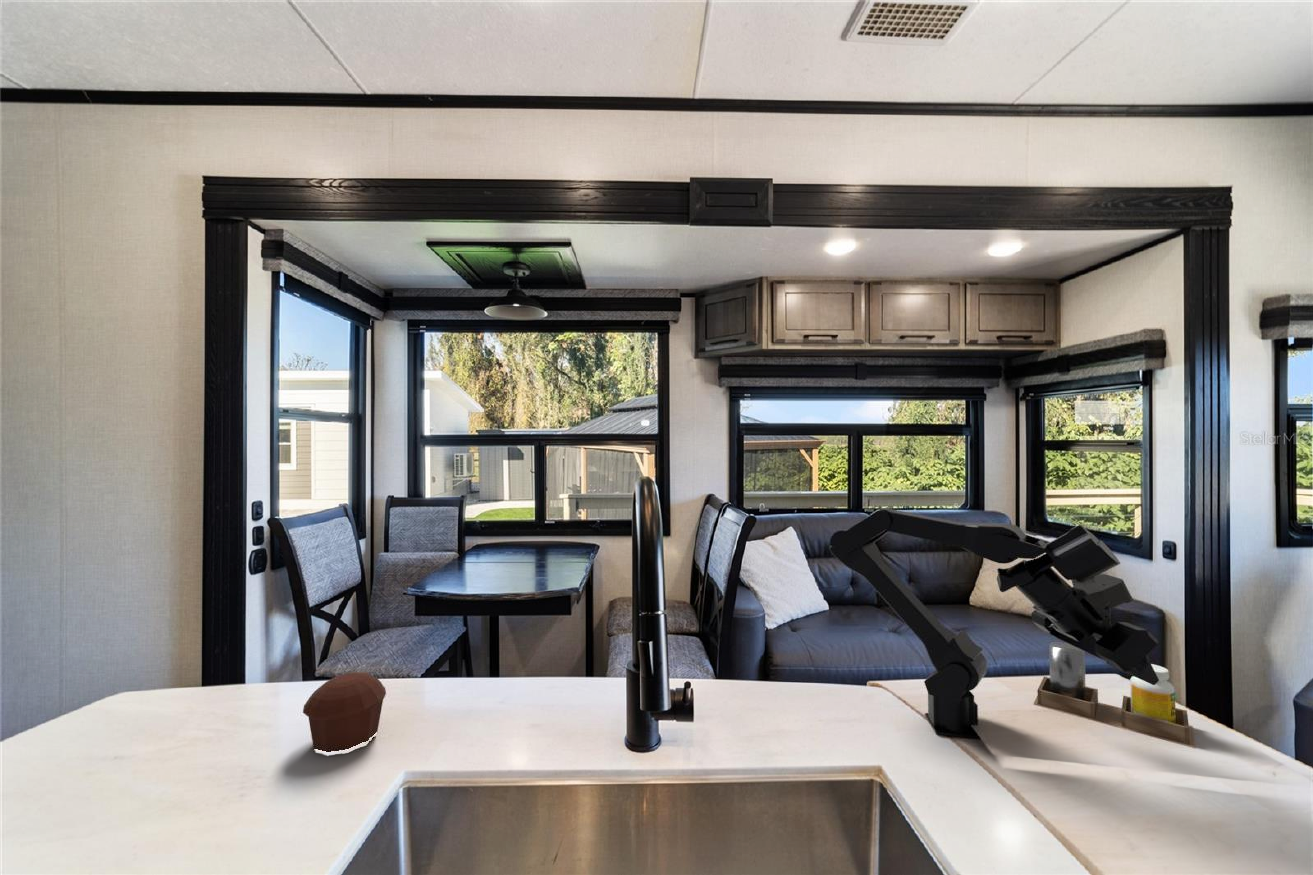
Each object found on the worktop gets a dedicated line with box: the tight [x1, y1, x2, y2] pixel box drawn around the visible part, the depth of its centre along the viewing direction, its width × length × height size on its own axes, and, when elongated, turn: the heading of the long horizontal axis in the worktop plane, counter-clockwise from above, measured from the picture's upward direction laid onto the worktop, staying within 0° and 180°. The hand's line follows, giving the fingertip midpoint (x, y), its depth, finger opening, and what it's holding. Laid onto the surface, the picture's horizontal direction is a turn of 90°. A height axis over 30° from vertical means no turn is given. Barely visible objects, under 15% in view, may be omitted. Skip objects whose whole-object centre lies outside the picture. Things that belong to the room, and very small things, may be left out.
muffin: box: [302, 671, 387, 752], centre depth 84 cm, size 12×11×10 cm
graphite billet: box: [1048, 641, 1087, 701], centre depth 94 cm, size 5×5×10 cm
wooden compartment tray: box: [1032, 676, 1196, 749], centre depth 90 cm, size 20×9×4 cm, turn 46°
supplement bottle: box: [1129, 663, 1176, 724], centre depth 86 cm, size 5×5×10 cm
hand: (1129, 669), depth 79 cm, fingers open, 9 cm apart
